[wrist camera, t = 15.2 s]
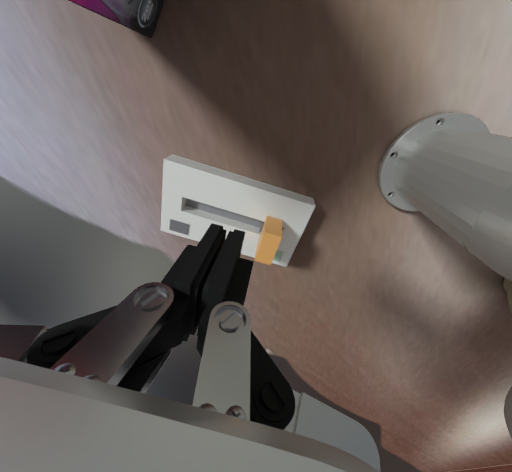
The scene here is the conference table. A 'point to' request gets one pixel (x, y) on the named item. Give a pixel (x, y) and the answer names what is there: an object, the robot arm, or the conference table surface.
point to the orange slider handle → (268, 240)
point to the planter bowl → (508, 291)
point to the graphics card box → (127, 12)
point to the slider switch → (229, 205)
